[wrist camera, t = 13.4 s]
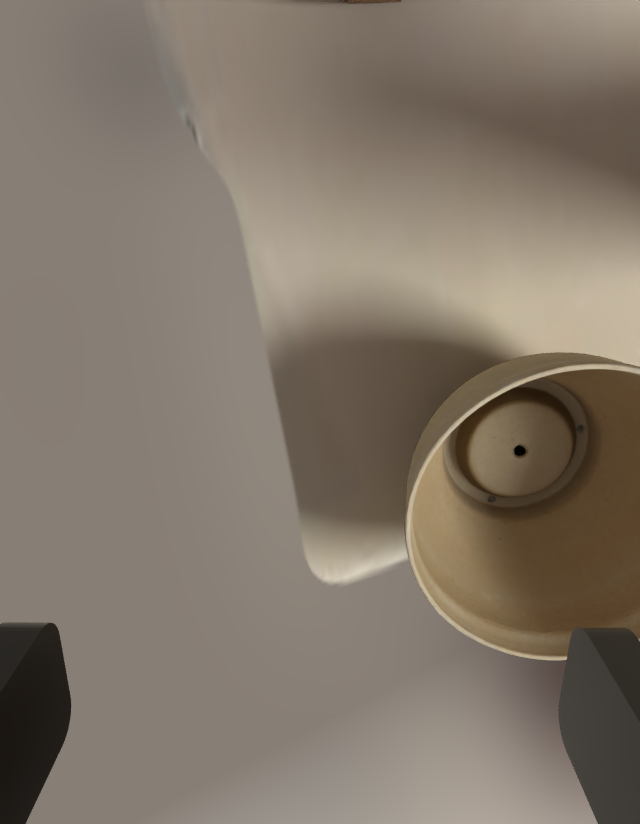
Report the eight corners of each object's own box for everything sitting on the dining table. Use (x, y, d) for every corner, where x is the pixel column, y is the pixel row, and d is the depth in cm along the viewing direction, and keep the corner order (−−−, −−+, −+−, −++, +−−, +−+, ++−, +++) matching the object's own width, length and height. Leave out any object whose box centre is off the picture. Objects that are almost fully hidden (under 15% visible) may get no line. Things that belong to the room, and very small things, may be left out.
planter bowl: (517, 260, 35) (593, 287, 25) (690, 430, 39) (819, 514, 29) (335, 450, 40) (337, 539, 30) (505, 588, 43) (559, 711, 33)
